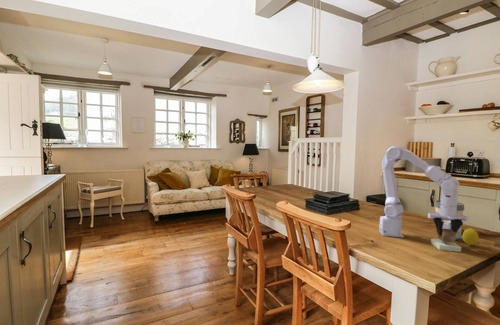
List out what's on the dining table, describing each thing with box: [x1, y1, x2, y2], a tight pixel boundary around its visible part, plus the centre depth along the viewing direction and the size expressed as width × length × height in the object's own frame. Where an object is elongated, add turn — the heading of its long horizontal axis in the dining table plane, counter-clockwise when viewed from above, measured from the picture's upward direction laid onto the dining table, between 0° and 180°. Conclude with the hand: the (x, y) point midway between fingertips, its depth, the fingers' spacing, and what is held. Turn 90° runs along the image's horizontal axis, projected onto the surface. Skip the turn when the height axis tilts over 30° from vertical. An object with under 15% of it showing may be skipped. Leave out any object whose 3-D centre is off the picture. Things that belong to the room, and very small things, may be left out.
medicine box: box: [443, 220, 463, 241], centre depth 124 cm, size 8×4×9 cm, turn 105°
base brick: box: [430, 238, 462, 253], centre depth 113 cm, size 8×8×2 cm
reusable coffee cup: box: [433, 199, 465, 221], centre depth 136 cm, size 12×13×15 cm
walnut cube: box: [437, 228, 456, 243], centre depth 112 cm, size 4×4×4 cm
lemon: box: [461, 227, 480, 247], centre depth 115 cm, size 6×6×8 cm
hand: (446, 235), depth 113 cm, fingers closed on walnut cube, 4 cm apart
